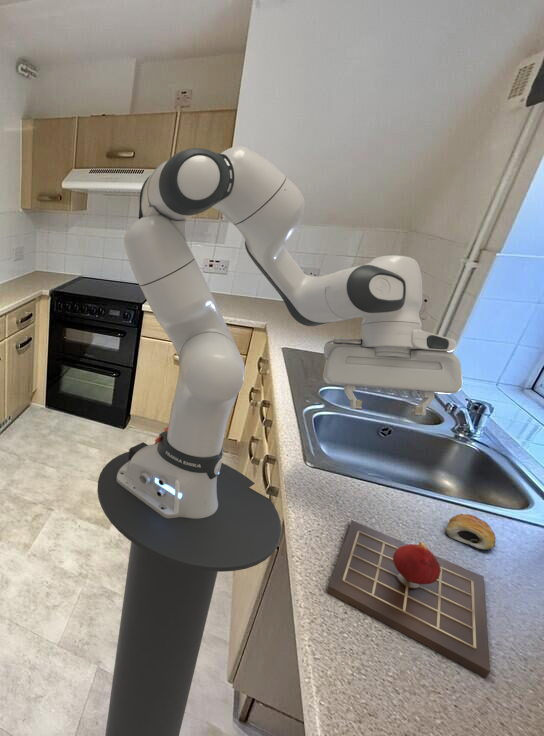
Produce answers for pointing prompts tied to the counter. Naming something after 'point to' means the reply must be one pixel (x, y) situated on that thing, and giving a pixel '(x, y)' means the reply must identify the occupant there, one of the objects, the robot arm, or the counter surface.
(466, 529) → the pastry
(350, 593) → the grid board
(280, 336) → the counter surface
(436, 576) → the onion
